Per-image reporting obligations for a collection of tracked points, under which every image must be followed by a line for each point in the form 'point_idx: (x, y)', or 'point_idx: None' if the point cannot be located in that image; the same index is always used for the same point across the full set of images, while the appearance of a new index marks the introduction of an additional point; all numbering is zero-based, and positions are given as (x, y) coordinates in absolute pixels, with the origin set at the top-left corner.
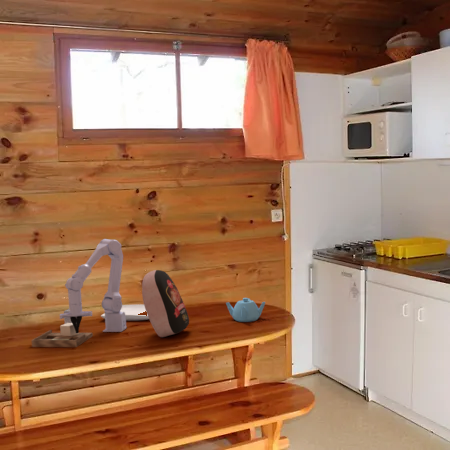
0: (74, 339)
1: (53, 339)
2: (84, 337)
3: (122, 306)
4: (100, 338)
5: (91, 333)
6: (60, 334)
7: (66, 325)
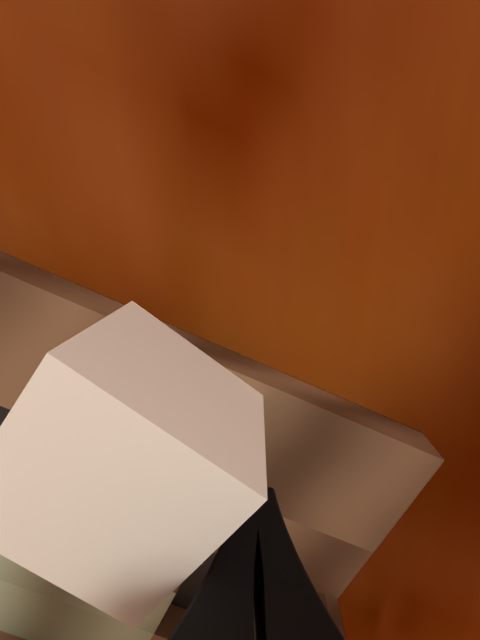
0: None
1: None
2: None
3: None
4: (477, 543)
5: (424, 484)
6: None
7: (63, 553)
